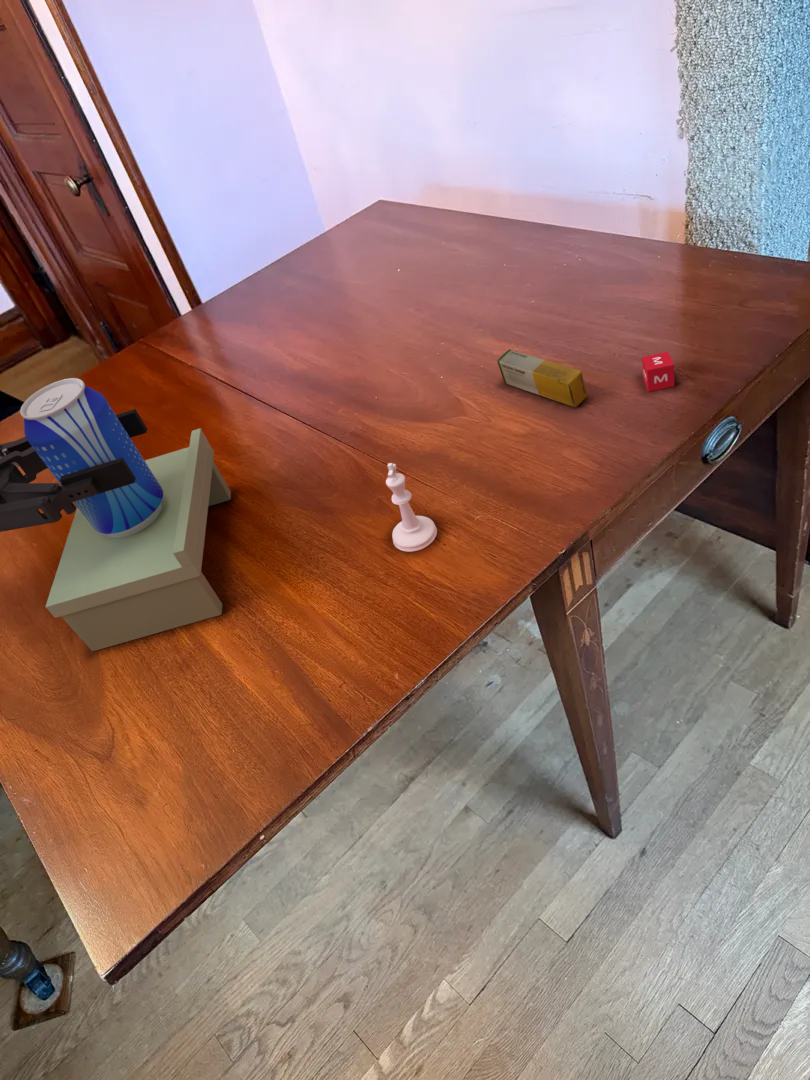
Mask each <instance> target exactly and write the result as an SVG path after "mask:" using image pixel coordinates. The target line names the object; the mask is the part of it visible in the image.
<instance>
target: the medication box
mask: <svg viewBox="0 0 810 1080" xmlns="http://www.w3.org/2000/svg"><path fill="white" fill-rule="evenodd" d="M496 361H497V365H498V368H499V370H500V373H501V377H502V380H503V383H504V385H509V386H512V387H514V388H517V389H520V390H523V391H527V392H528V393H532V394H535V395H538V396H541V397H544V398H546V399H550V400H552V401H555V402H557V403H561V404H565V405H567V406H570V407H572V408H577V407H578V406H579V405H580V404H581V403H582V402H583V401H584V400H585V399H586V398H587V397H588V391H587V388H586V383H585V379H584V374H583V371H582V370H580V369H577V368H574V367H571V366H567V365H563V364H561V363H557V362H554V361H551V360H548V359H543V358H539V357H537V356H534V355H530V354H528V353H527V354H526V353H523V352H519V351H516V350H512V349H510V348H509V349H508V350H506V351H505V352H504V353H503V354H502V355H501V356H499V358H498V359H497V360H496Z"/></svg>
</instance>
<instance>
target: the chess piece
mask: <svg viewBox="0 0 810 1080" xmlns="http://www.w3.org/2000/svg"><path fill="white" fill-rule="evenodd" d="M386 467H387V469H388V473H387V478H386V480H385V484H386V486H387V487H388V489H390V491H391V492H392V495H391V502H392V504H394V505H397V506H398V507H399V511H400V517H401V521H400V522H398V523H397V524H396V525H395V526H394V528H393V530H392V533H391V538H392V543H393V546H394V547H395V548H396V549H398V550H400V551H402V552H406V553H407V552H411V553H412V552H417V551H421V550H423V549H425V548H426V547H428V546H429V545H431V544H432V543H433V542H434V541H435V539H436V537H437V535H438V529H437V528H438V527H437V526H436V524H435V522H434V521H433V520H432V519H431V518H430V517H427V516H424V515H416V514H415V513H414V510H413V509H412V507H411V505H410V503H409V502H410V501H411V499H412V493H411V492H410V490H408V489H406V476H405V475H404V474H402V473H401V472H400V473H399V472H396V471H397V467H398V466H397V464H396V463H393V462H388V463H387V466H386Z"/></svg>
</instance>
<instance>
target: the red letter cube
mask: <svg viewBox="0 0 810 1080" xmlns="http://www.w3.org/2000/svg"><path fill="white" fill-rule="evenodd" d="M641 367H642V379H643V383H644V384H645V387H646V389H647V392H654V391H660V390H663V389H669V388H673V387H674V388H675V363H674V361H673V359H672V357H671V355H670V353H669V351H663V352H659V353H655V354H649V355H645V356H641Z"/></svg>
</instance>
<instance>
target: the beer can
mask: <svg viewBox="0 0 810 1080" xmlns="http://www.w3.org/2000/svg"><path fill="white" fill-rule="evenodd" d="M19 414H20V416H21V417H22V418H23V428H24V430H23V431H24V437H26V439H27V440H28V442H29V443H30V444H31V446H32V447H33V448H34V450H35V451H36V452H37V454H38V455H39V456H40V458H41V459H42V460H43V462H44V463H45V465H46V466H47V467H48V468H47V469H48V470H49V471H50V473H51V474H52V475H53V477H54V478H55V479H56V481H57V482H58V484H59V485H60V486H63V485H62V483H61V482H60V478H61V476H64V475H67V474H70V473H73V472H77V471H80V470H83V469H86V468H90V467H93V466H96V465H100V464H103V463H106V462H109V461H113V460H116V459H119V458H123V459H124V461H125V462H126V464H127V465H128V467H129V468H130V470H131V471H132V473H133V475H134V476H135V478H136V480H135V483H133V484H129V485H126V486H123V487H120V488H116V489H113V490H110V491H106V492H103V493H100V494H96V495H94V496H91V497H87V498H85V499H81V500H78V501H75V502H73V504H74V505H75V507H76V508H77V507H78V509H79V510H80V511H81V513H82V514H83V515H84V517H85V518H86V519H87V521H88V522H89V523H90V525H91V526H92V527H93V529H94V530H95V531H97V532H98V533H101V534H105V535H108V536H110V537H114V538H122V537H127V536H131V535H134V534H136V533H138V532H140V531H142V530H143V529H145V528H147V527H148V526H149V525H150V524H152V523H153V522H154V521H155V520H156V518H157V517H158V516H159V514H160V512H161V510H162V505H163V504H162V500H163V495H164V494H163V490H162V488H161V486H160V484H159V483H158V481H157V480H156V478H155V477H154V475H153V473H152V472H151V470H150V469H149V467H148V465H147V464H146V462H145V459H144V457H143V456H142V455H141V452H140V451H139V450H138V448H137V446H136V445H135V443H134V442H133V440H132V439H131V438H130V437H129V435H128V434H127V432H126V431H125V429H124V427H123V426H122V424H121V423H120V421H119V420H118V418H117V416H116V415H117V414H116V413H115V412H114V410H113V408H112V407H111V405H110V404H109V402H108V400H107V399H106V397H105V396H104V395H103V394H102V393H101V392H100V391H97V390H95V389H93V388H91V387H89V386H87V385H86V384H85V382H84V380H82V379H80V378H77V377H70V378H69V377H68V378H64V379H61V380H57V381H55V382H52V383H49V384H47V385H45V386H44V387H42V388H40V389H39V390H36V391H35V392H34V393H33V394H31V395H30V396H29V397H28V398H27V399H25V401H24V402H23V403H22V405H21V407H20V409H19Z"/></svg>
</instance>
